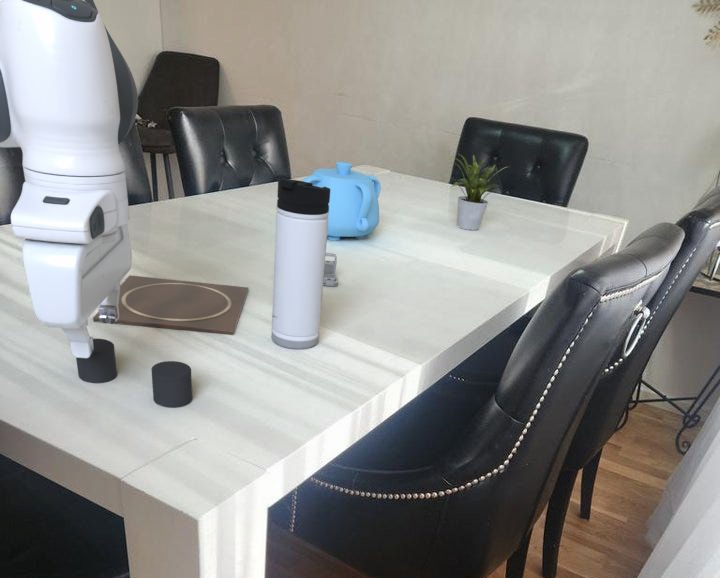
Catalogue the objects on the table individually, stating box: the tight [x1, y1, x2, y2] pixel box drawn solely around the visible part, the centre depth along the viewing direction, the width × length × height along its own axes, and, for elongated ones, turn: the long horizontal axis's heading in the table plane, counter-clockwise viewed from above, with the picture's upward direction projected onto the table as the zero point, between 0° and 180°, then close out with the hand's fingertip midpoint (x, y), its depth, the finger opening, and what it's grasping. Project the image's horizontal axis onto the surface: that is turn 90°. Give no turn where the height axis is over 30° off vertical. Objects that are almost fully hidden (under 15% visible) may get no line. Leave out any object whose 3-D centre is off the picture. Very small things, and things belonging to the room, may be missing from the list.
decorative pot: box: [302, 161, 382, 241], centre depth 131 cm, size 16×16×14 cm
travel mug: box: [271, 178, 330, 350], centre depth 81 cm, size 6×7×20 cm
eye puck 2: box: [150, 360, 193, 408], centre depth 68 cm, size 4×4×4 cm
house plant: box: [450, 153, 511, 231], centre depth 150 cm, size 14×14×16 cm
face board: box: [92, 274, 250, 336], centre depth 92 cm, size 18×18×1 cm
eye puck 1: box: [75, 338, 118, 384], centre depth 71 cm, size 4×4×4 cm
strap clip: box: [323, 252, 339, 287], centre depth 108 cm, size 8×3×4 cm, turn 9°
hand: (97, 337), depth 70 cm, fingers open, 8 cm apart
